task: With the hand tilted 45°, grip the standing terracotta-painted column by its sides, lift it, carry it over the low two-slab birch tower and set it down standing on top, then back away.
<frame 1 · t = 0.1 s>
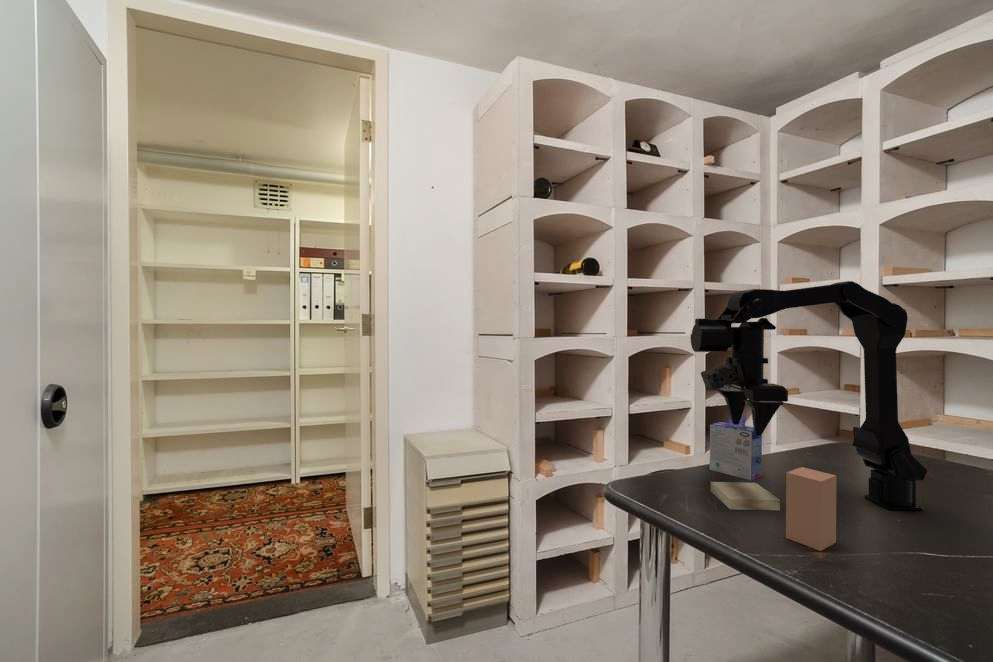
hand: (746, 429, 91), 15 cm above the table, tool pointing down, fingers open, 9 cm apart
bottom slab: (743, 510, 89), on the table, touching top slab
column: (810, 548, 73), on the table
ink cartridge box: (735, 478, 105), on the table
top slab: (743, 500, 89), point 1 cm above the table, touching bottom slab
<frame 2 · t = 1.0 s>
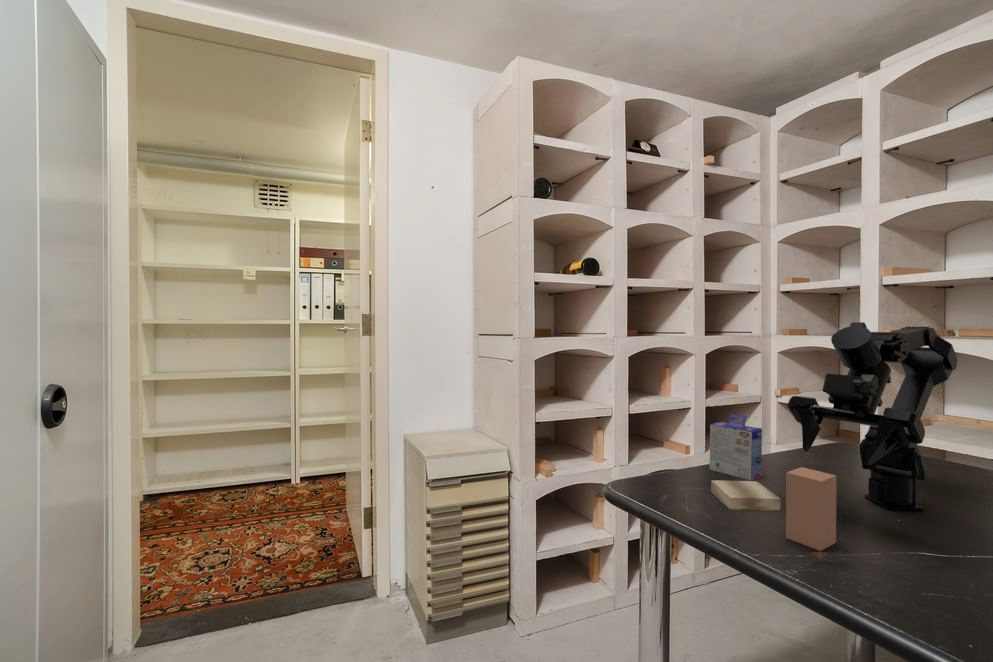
hand: (834, 456, 77), 13 cm above the table, tool tilted 45°, fingers open, 9 cm apart
nothing on the table moved.
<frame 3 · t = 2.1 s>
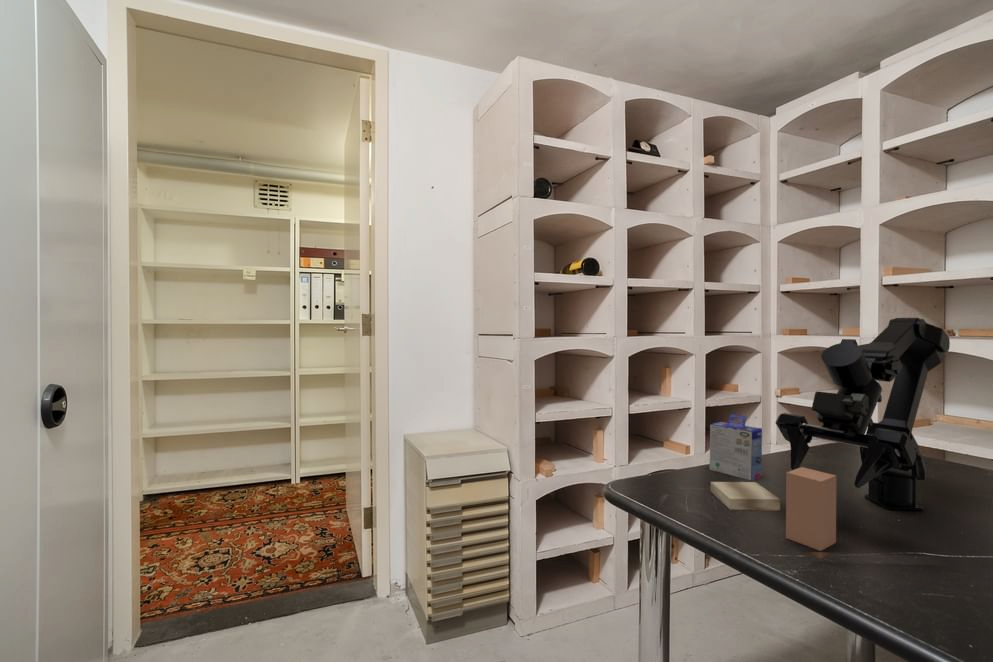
hand: (823, 477, 75), 11 cm above the table, tool tilted 45°, fingers open, 9 cm apart
nothing on the table moved.
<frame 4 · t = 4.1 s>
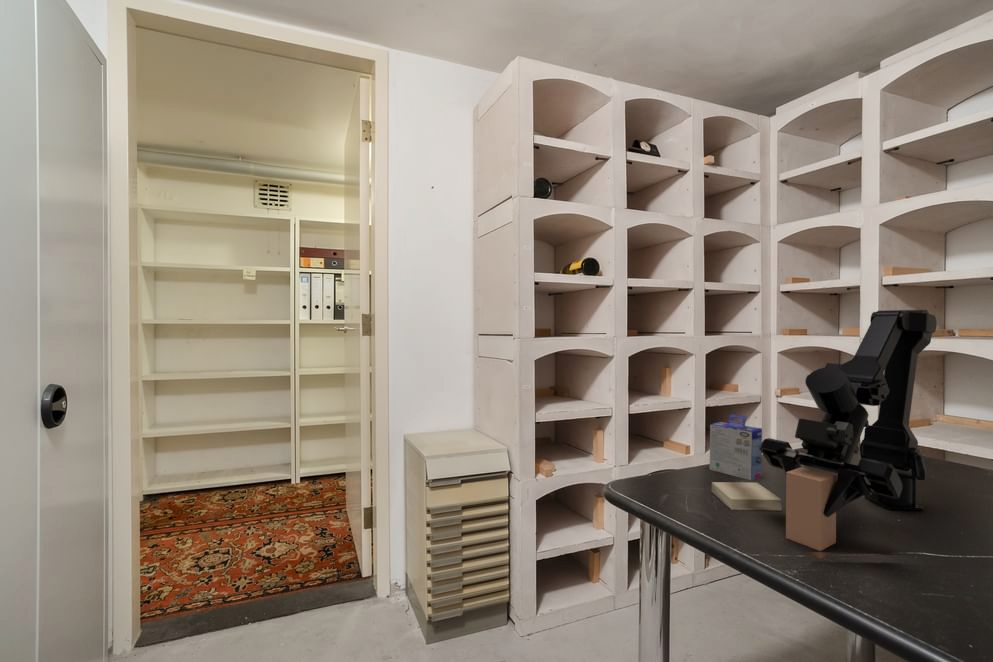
hand: (806, 509, 72), 7 cm above the table, tool tilted 45°, fingers closed on column, 5 cm apart
column: (810, 548, 73), on the table, touching gripper
everything else where it was.
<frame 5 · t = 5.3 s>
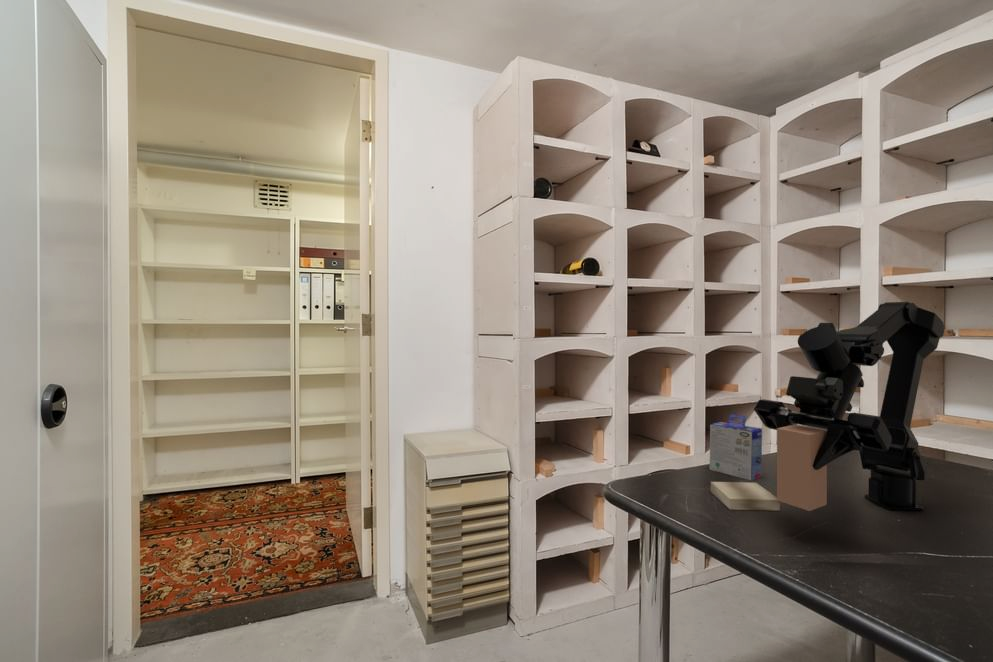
hand: (796, 463, 73), 13 cm above the table, tool tilted 45°, fingers closed on column, 5 cm apart
column: (801, 502, 74), point 7 cm above the table, touching gripper
everything else where it was.
when the fingers open (11 cm above the table, at t = 6.9 s): column drops 1 cm, point 3 cm above the table.
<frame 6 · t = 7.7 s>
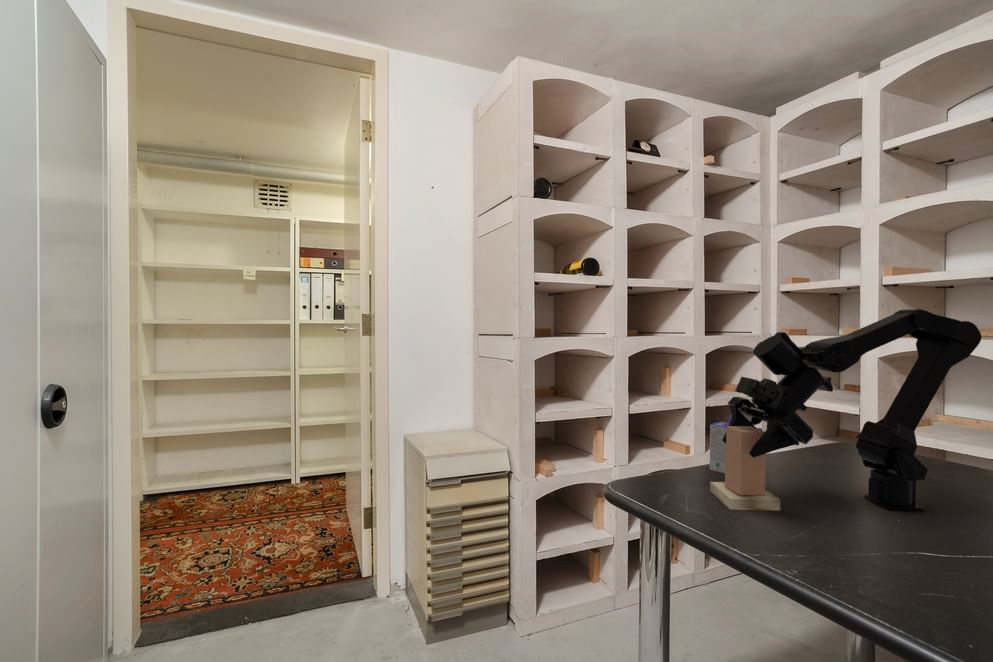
hand: (736, 448, 89), 12 cm above the table, tool tilted 45°, fingers open, 9 cm apart
bottom slab: (743, 510, 89), on the table
column: (744, 490, 88), point 3 cm above the table
top slab: (743, 500, 89), point 1 cm above the table
everything else where it was.
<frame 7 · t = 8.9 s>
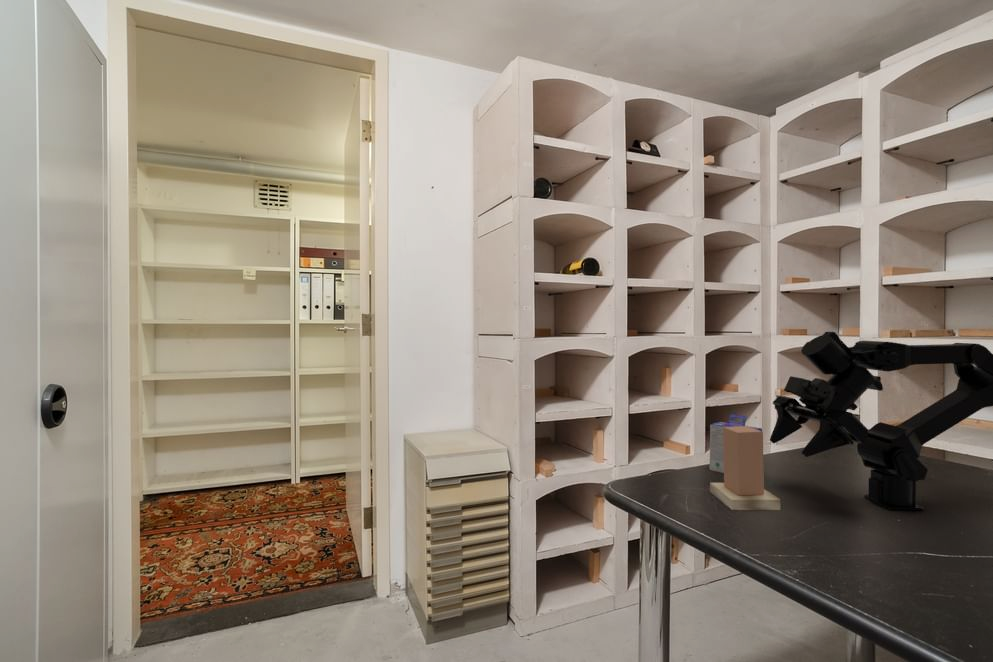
hand: (786, 448, 89), 11 cm above the table, tool tilted 45°, fingers open, 9 cm apart
bottom slab: (743, 511, 89), on the table, touching top slab
top slab: (743, 500, 89), point 1 cm above the table, touching bottom slab
everything else where it was.
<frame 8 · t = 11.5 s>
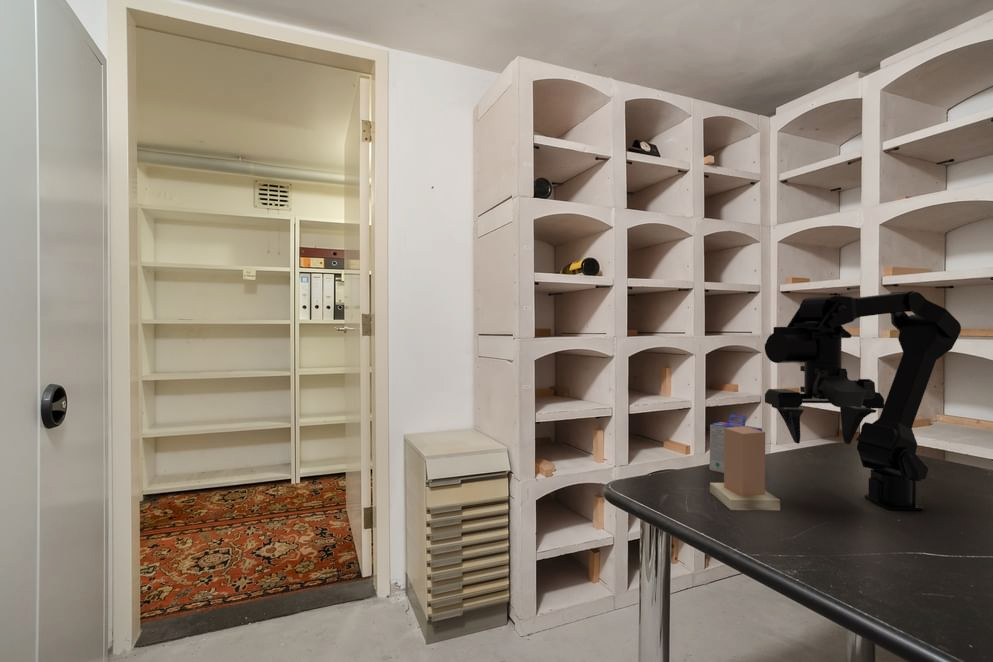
hand: (822, 443, 87), 13 cm above the table, tool pointing down, fingers open, 9 cm apart
column: (744, 490, 89), point 3 cm above the table, touching top slab
top slab: (743, 501, 89), point 1 cm above the table, touching bottom slab, column
everything else where it was.
at the end: column 0.2 cm off-centre on the top slab, point 2.0 cm above the top slab's base; column tilted 0°; top slab moved 0.8 cm from its start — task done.
